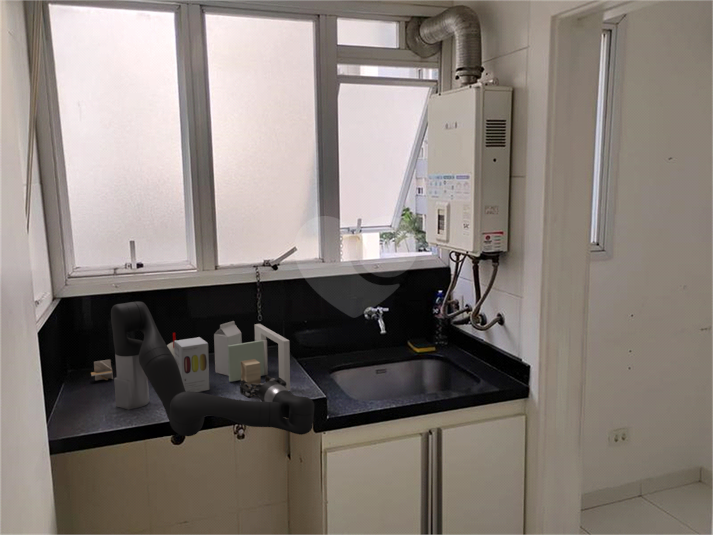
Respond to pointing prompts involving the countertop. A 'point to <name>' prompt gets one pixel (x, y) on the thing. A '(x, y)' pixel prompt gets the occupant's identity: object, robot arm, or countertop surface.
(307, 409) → the robot arm
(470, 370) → the countertop surface
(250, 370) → the block
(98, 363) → the architectural model
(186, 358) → the supplement box
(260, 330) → the door frame
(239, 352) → the door
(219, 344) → the milk carton
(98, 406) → the countertop surface
